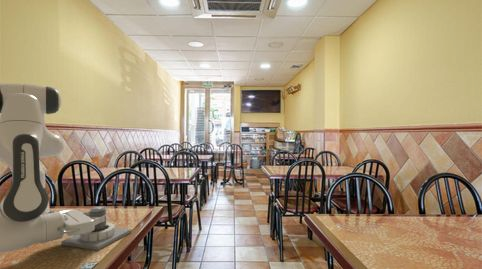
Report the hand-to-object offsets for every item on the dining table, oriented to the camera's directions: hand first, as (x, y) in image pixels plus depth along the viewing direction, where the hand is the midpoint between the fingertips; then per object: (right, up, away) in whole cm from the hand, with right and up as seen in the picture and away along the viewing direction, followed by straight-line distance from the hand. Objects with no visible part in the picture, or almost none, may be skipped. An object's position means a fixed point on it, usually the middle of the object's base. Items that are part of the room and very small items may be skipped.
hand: (99, 215), depth 95 cm
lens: (0, -7, 0) cm, 7 cm away
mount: (0, -8, 0) cm, 8 cm away
